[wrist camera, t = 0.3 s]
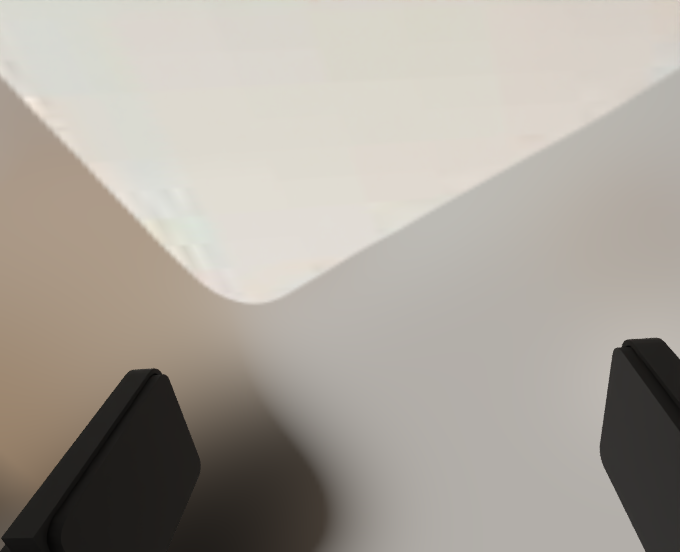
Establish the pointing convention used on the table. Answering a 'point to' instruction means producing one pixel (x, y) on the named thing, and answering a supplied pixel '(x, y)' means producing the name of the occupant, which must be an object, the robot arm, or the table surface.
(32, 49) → the table surface
